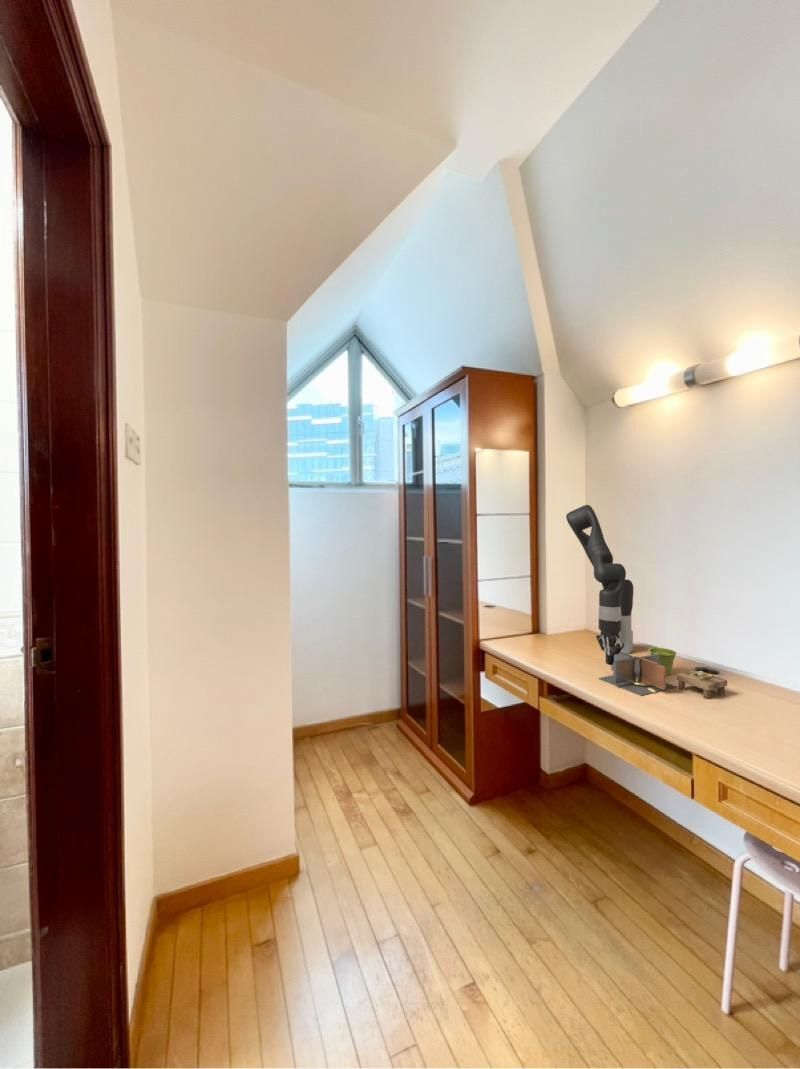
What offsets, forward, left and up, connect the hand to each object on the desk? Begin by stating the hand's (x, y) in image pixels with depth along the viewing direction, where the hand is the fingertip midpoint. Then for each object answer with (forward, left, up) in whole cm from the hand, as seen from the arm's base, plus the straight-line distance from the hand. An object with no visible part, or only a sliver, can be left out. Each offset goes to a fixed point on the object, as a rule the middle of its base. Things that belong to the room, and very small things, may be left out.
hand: (609, 664), depth 162 cm
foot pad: (-9, +4, -7) cm, 12 cm away
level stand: (-22, +19, -7) cm, 30 cm away
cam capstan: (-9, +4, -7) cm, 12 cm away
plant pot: (-27, +1, -7) cm, 28 cm away
